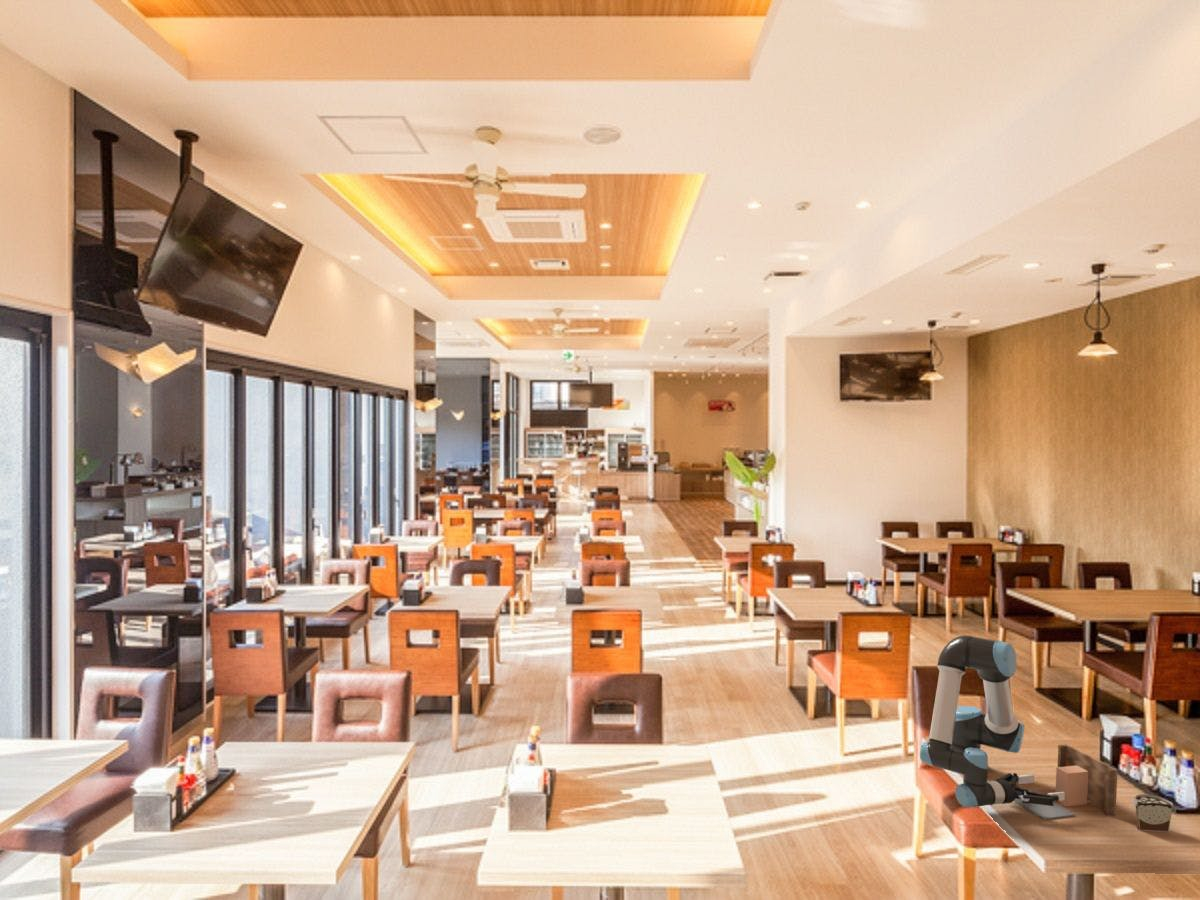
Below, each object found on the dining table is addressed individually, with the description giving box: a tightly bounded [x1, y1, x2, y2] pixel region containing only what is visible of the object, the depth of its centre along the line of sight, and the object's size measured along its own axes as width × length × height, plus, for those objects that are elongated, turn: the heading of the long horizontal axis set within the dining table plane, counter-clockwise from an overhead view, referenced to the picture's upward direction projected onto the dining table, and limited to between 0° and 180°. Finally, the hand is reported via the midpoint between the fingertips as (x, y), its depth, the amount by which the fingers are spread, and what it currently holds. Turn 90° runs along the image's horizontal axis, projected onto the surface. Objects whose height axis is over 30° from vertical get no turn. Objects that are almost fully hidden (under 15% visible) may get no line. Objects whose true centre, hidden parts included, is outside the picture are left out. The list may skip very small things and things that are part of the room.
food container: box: [1132, 793, 1175, 833], centre depth 263 cm, size 12×6×10 cm, turn 84°
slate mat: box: [1013, 790, 1076, 820], centre depth 277 cm, size 18×13×1 cm
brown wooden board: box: [1057, 743, 1119, 817], centre depth 281 cm, size 22×4×16 cm, turn 14°
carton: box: [1055, 765, 1088, 807], centre depth 280 cm, size 5×9×12 cm, turn 104°
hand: (1048, 786), depth 277 cm, fingers open, 13 cm apart
